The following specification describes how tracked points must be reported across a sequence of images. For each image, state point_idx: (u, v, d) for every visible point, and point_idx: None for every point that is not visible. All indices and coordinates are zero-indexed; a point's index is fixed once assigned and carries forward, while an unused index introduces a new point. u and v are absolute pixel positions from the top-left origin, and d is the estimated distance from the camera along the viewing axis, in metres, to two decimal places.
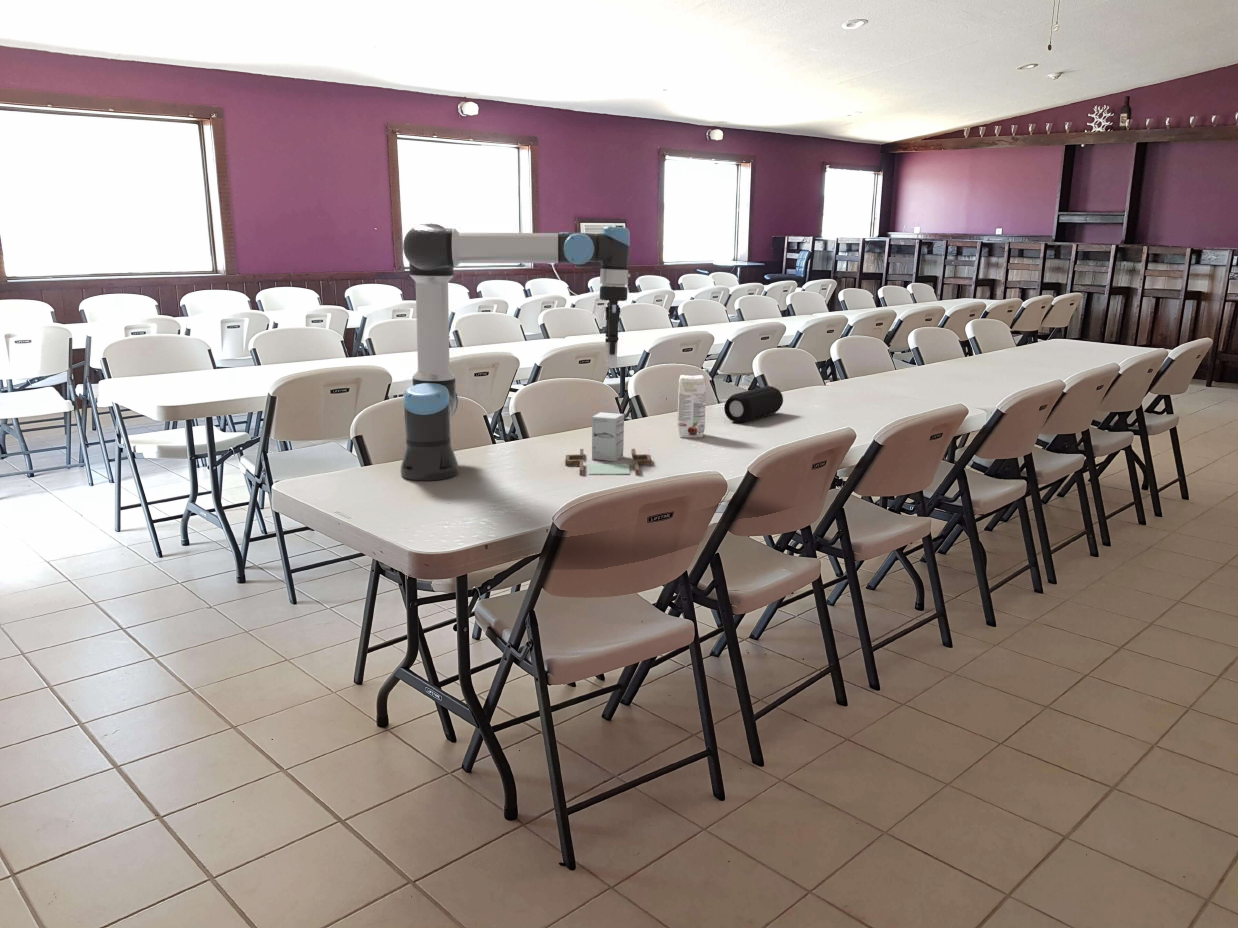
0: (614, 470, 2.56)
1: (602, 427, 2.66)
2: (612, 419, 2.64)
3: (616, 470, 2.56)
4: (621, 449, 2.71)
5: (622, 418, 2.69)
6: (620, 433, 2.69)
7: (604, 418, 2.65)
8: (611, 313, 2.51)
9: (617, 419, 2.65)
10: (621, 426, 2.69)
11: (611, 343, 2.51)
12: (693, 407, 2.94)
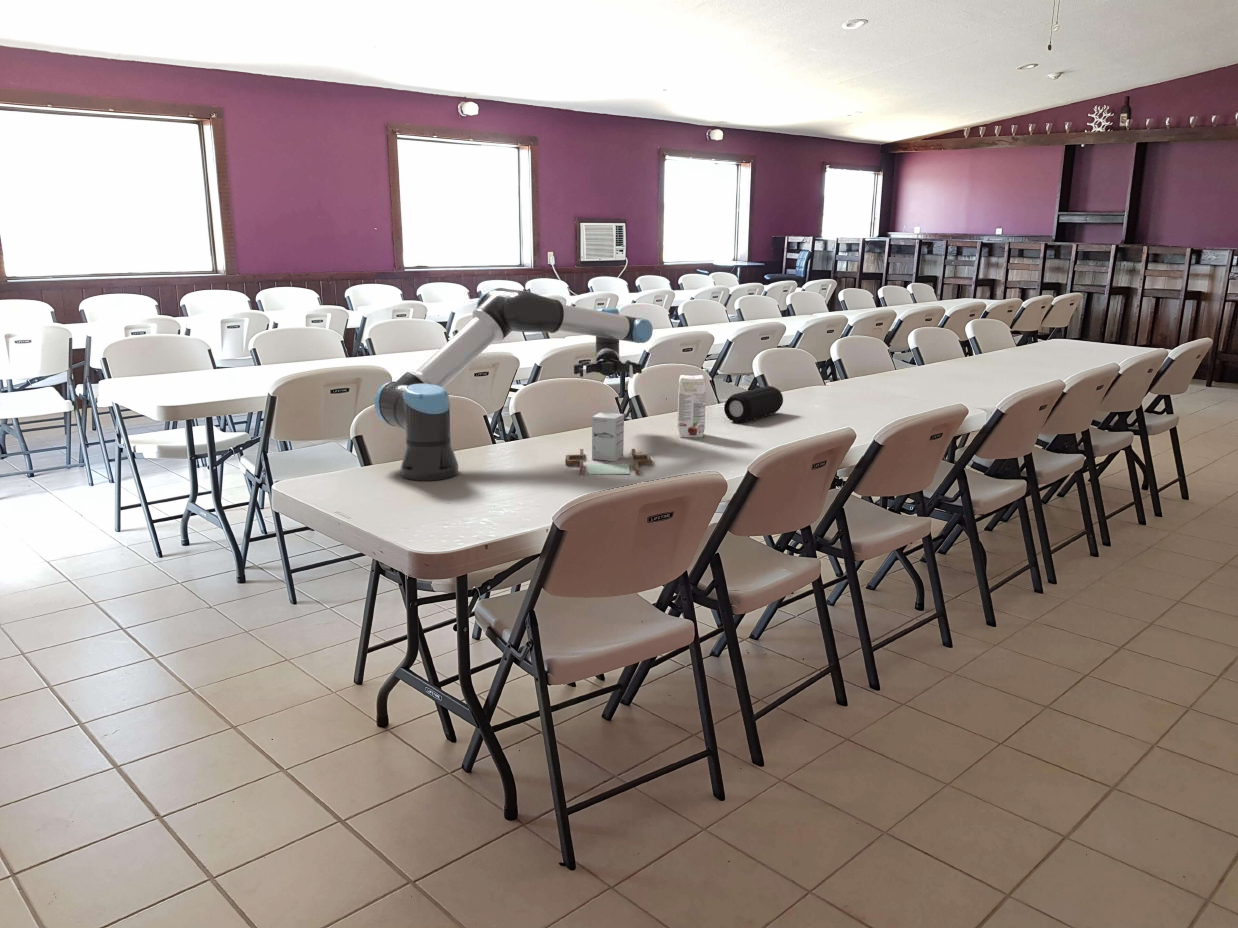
0: (614, 470, 2.56)
1: (602, 427, 2.66)
2: (612, 419, 2.64)
3: (616, 470, 2.56)
4: (621, 449, 2.71)
5: (622, 418, 2.69)
6: (620, 433, 2.69)
7: (604, 418, 2.65)
8: None
9: (617, 419, 2.65)
10: (621, 426, 2.69)
11: (636, 368, 2.80)
12: (693, 407, 2.94)
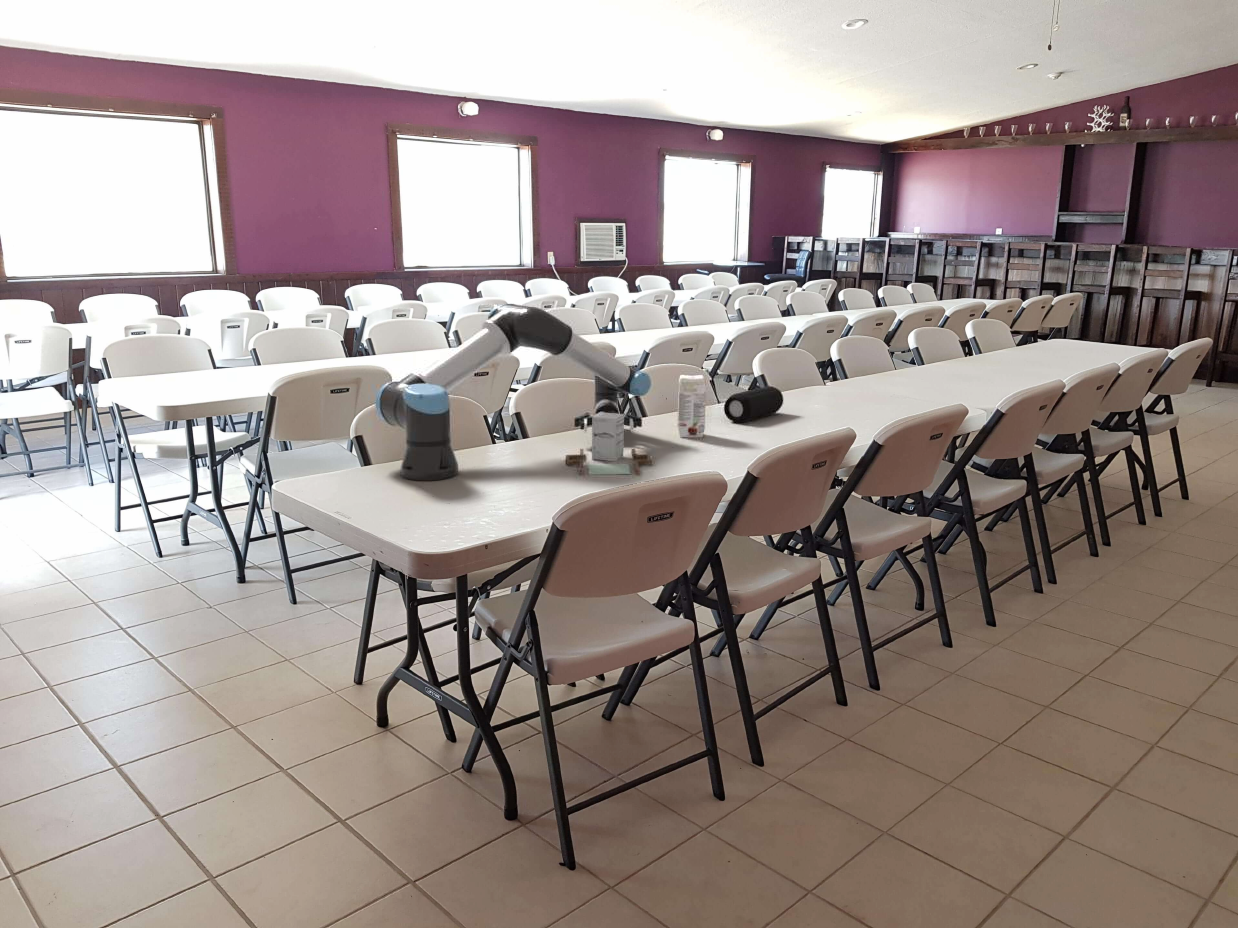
0: (614, 470, 2.56)
1: (602, 427, 2.66)
2: (612, 419, 2.64)
3: (616, 470, 2.56)
4: (621, 449, 2.71)
5: (622, 418, 2.69)
6: (620, 433, 2.69)
7: (604, 418, 2.65)
8: None
9: (617, 419, 2.65)
10: (621, 426, 2.69)
11: (636, 422, 2.83)
12: (693, 407, 2.94)
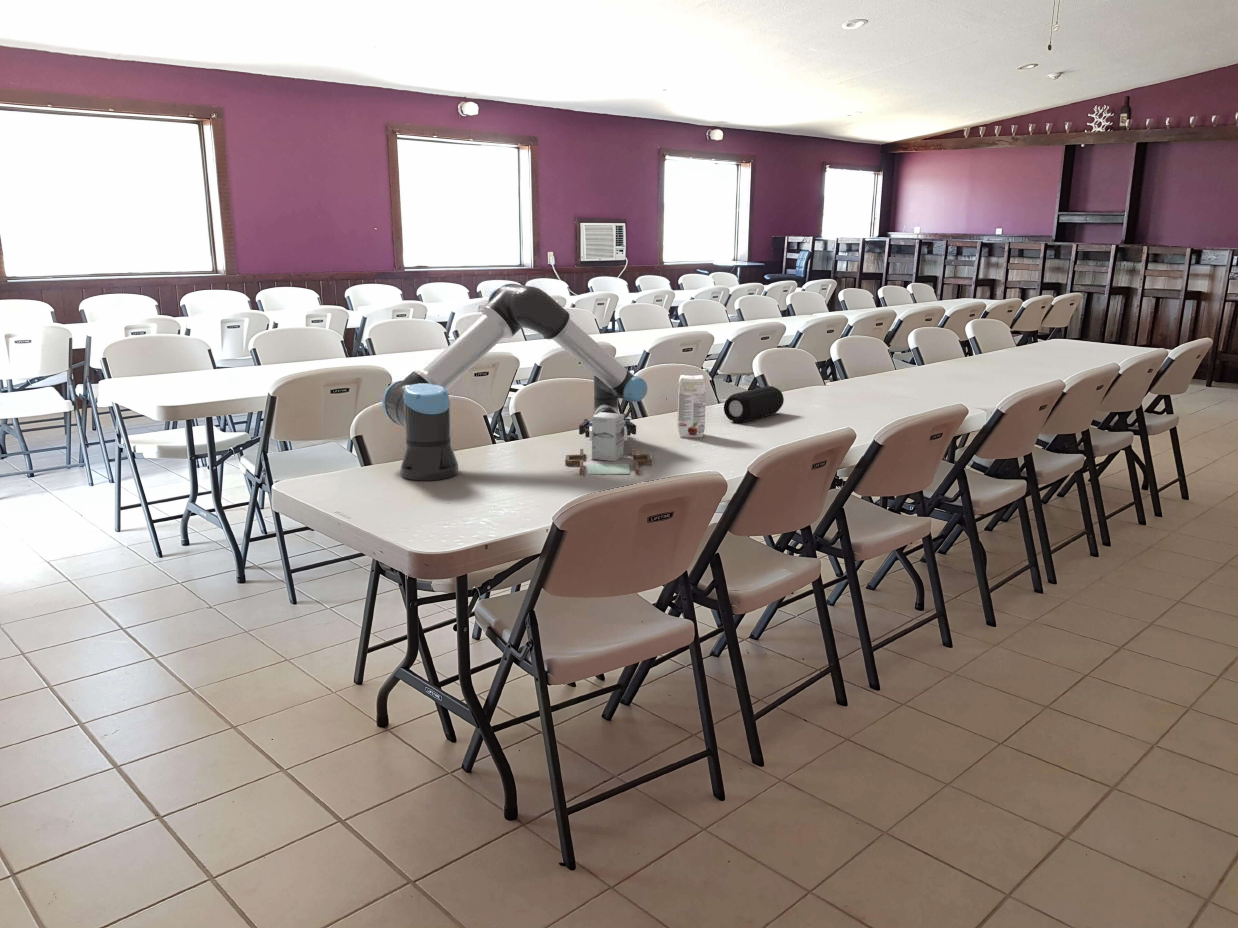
0: (614, 470, 2.56)
1: (602, 427, 2.66)
2: (612, 419, 2.64)
3: (616, 470, 2.56)
4: (621, 449, 2.71)
5: (622, 418, 2.69)
6: (620, 433, 2.69)
7: (604, 418, 2.65)
8: None
9: (617, 419, 2.65)
10: (621, 426, 2.69)
11: (630, 429, 2.71)
12: (693, 407, 2.94)
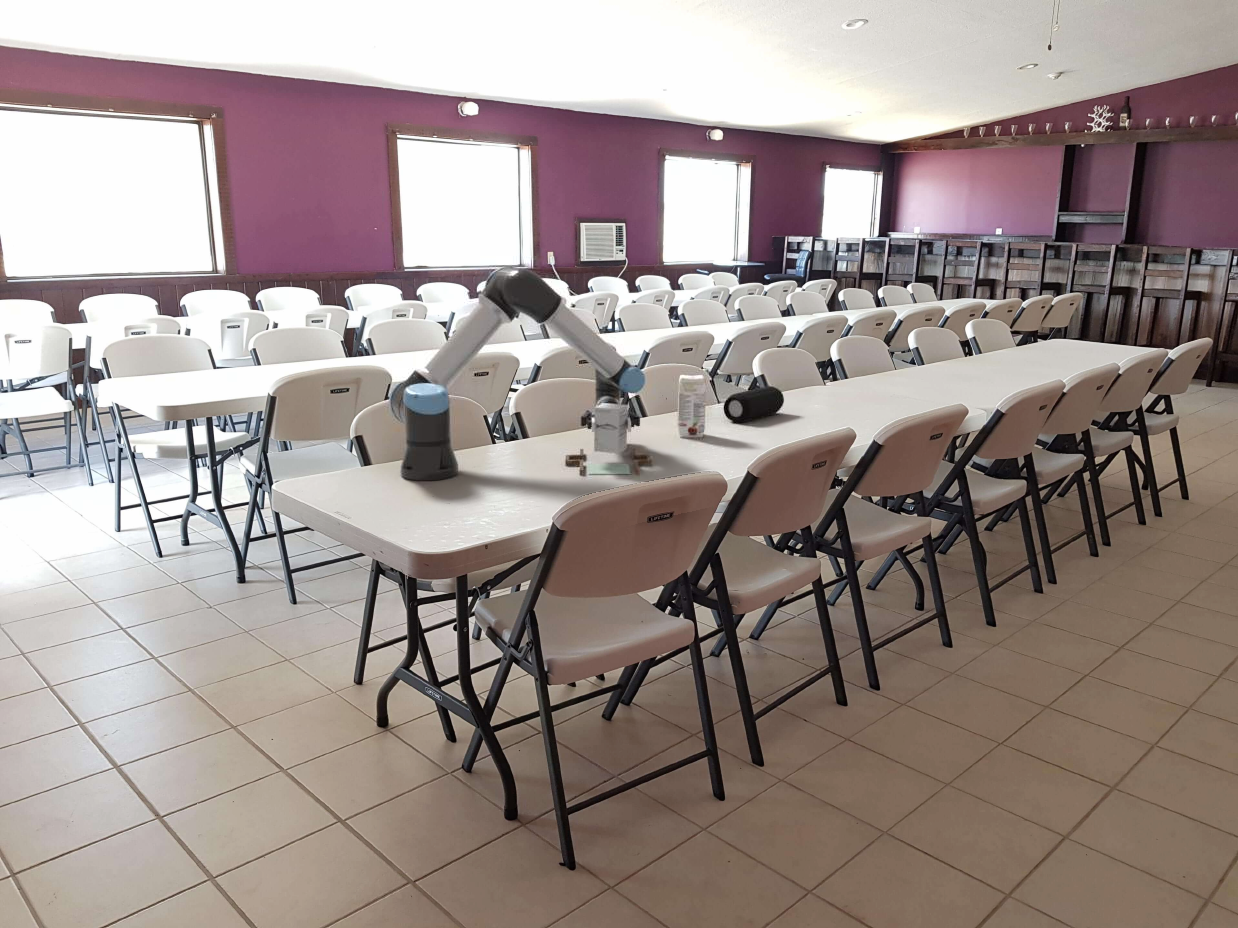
0: (614, 470, 2.56)
1: (605, 418, 2.57)
2: (615, 410, 2.55)
3: (616, 470, 2.56)
4: (624, 441, 2.62)
5: (625, 409, 2.60)
6: (624, 424, 2.60)
7: (607, 409, 2.56)
8: None
9: (620, 410, 2.56)
10: (624, 417, 2.60)
11: (634, 421, 2.62)
12: (693, 407, 2.94)
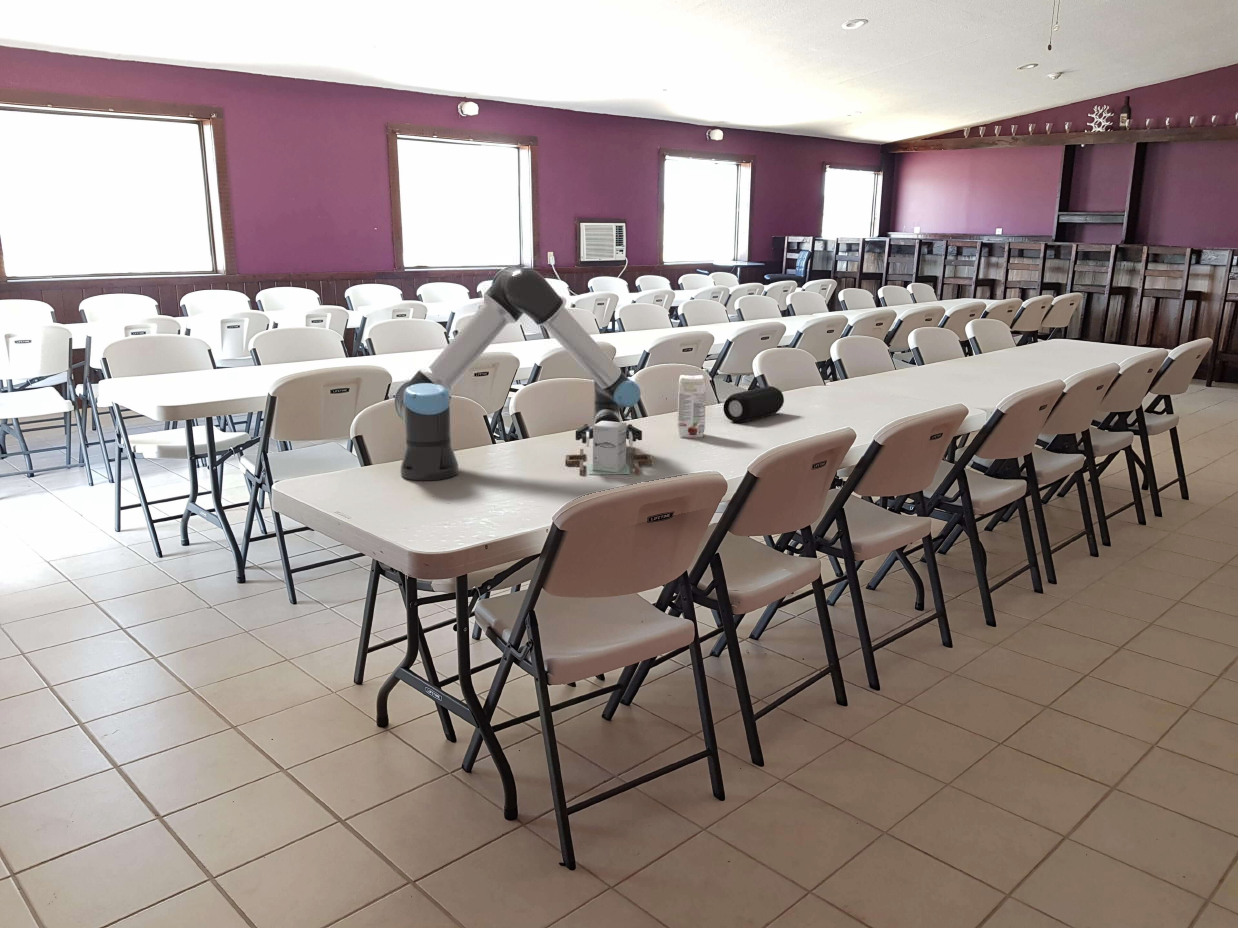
0: None
1: (603, 437, 2.53)
2: (614, 428, 2.51)
3: None
4: (623, 459, 2.58)
5: (624, 427, 2.56)
6: (623, 442, 2.56)
7: (606, 427, 2.52)
8: None
9: (619, 428, 2.52)
10: (623, 435, 2.56)
11: (635, 435, 2.59)
12: (693, 407, 2.94)
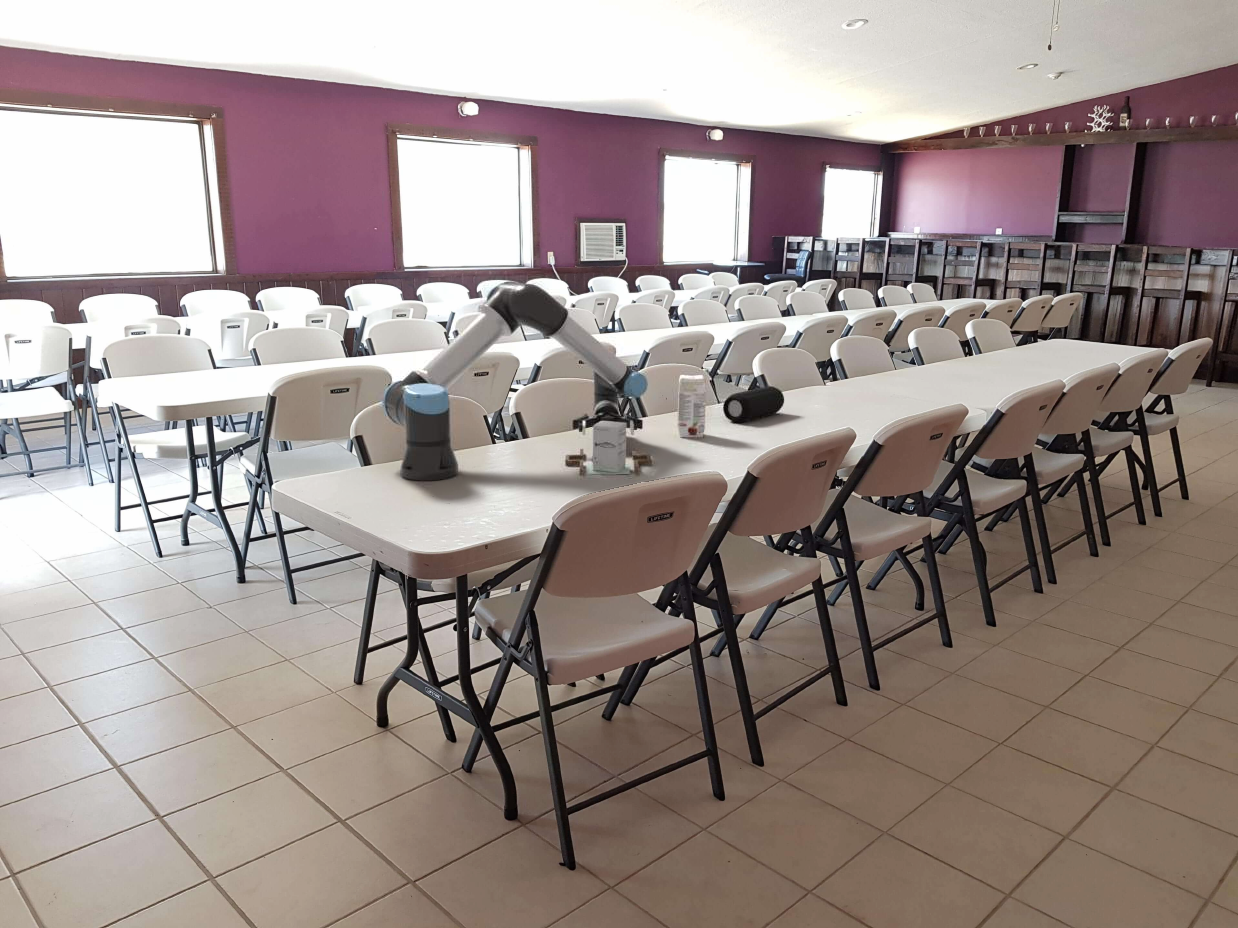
0: None
1: (603, 437, 2.53)
2: (614, 428, 2.51)
3: None
4: (623, 459, 2.58)
5: (624, 427, 2.56)
6: (623, 442, 2.56)
7: (606, 427, 2.52)
8: None
9: (619, 428, 2.52)
10: (623, 435, 2.56)
11: (636, 424, 2.72)
12: (693, 407, 2.94)
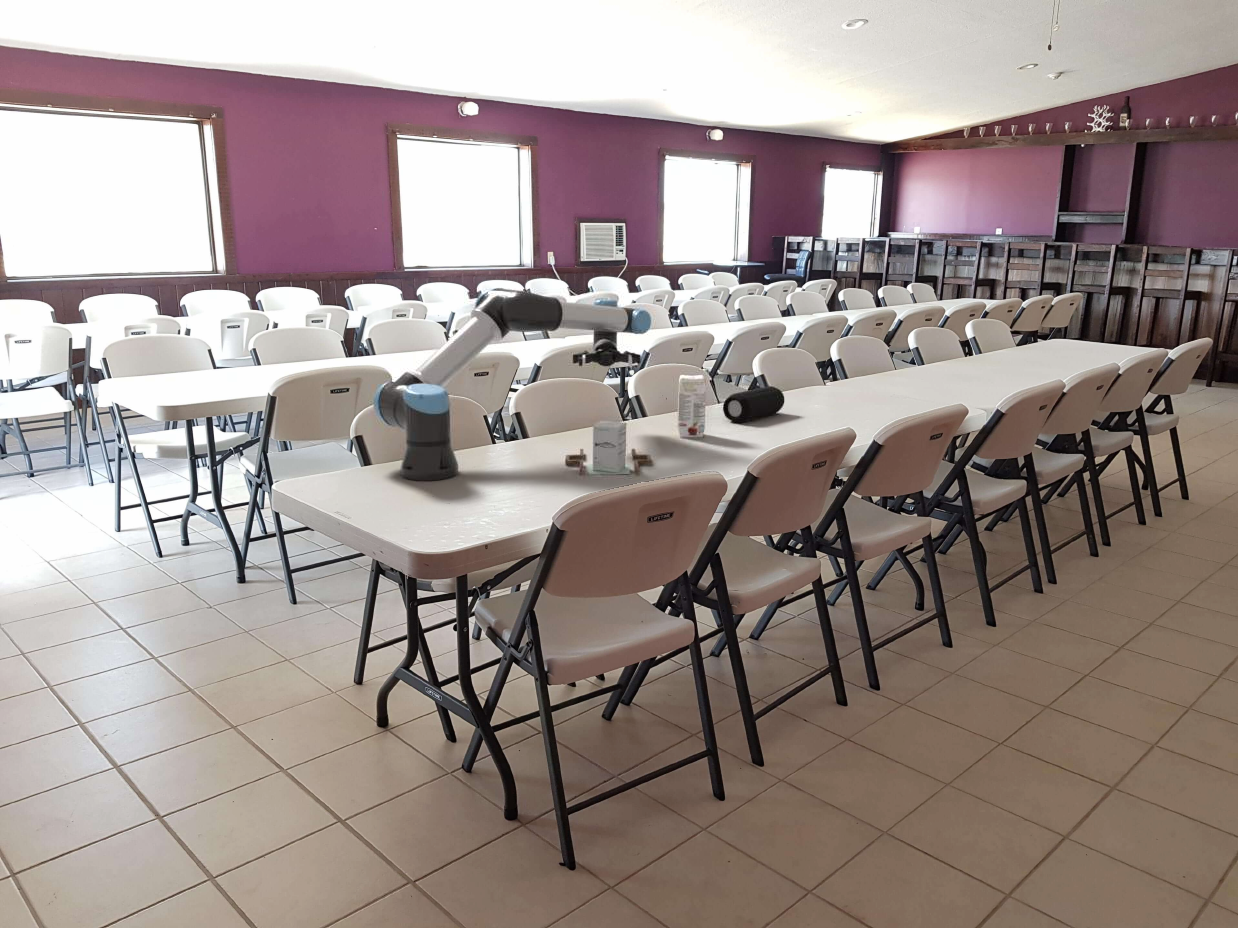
0: None
1: (603, 437, 2.53)
2: (614, 428, 2.51)
3: None
4: (623, 459, 2.58)
5: (624, 427, 2.56)
6: (623, 442, 2.56)
7: (606, 427, 2.52)
8: None
9: (619, 428, 2.52)
10: (623, 435, 2.56)
11: (635, 358, 2.81)
12: (693, 407, 2.94)
